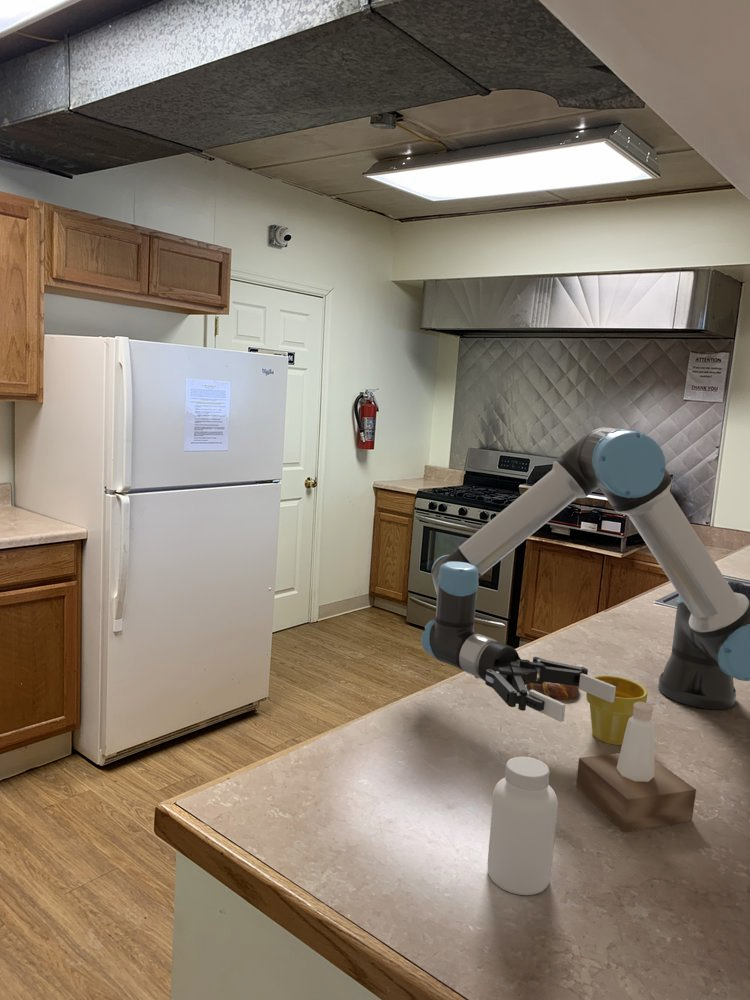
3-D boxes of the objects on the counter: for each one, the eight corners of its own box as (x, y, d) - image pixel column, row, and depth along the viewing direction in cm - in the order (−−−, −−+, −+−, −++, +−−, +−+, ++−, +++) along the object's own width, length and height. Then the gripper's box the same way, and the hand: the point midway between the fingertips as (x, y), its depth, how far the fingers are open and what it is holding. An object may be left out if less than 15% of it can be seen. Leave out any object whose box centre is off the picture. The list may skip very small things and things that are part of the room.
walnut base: (638, 779, 120) (642, 750, 119) (691, 820, 108) (696, 789, 108) (575, 787, 116) (579, 757, 115) (624, 831, 104) (628, 799, 104)
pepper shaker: (653, 769, 113) (662, 701, 111) (654, 786, 108) (663, 715, 106) (616, 761, 115) (624, 694, 113) (615, 777, 110) (624, 708, 108)
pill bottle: (479, 856, 97) (489, 750, 95) (538, 856, 98) (550, 751, 95) (494, 897, 89) (505, 782, 87) (558, 897, 90) (571, 783, 88)
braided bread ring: (512, 685, 156) (513, 668, 156) (545, 675, 163) (547, 659, 162) (556, 706, 147) (558, 688, 146) (590, 695, 153) (592, 678, 153)
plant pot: (645, 754, 128) (652, 701, 127) (584, 745, 130) (590, 693, 129) (636, 728, 138) (642, 679, 137) (580, 720, 140) (585, 671, 139)
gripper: (532, 667, 142) (630, 708, 126) (439, 694, 126) (537, 745, 110) (536, 630, 141) (635, 666, 125) (442, 653, 125) (542, 698, 109)
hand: (589, 703), depth 117 cm, fingers open, 13 cm apart
